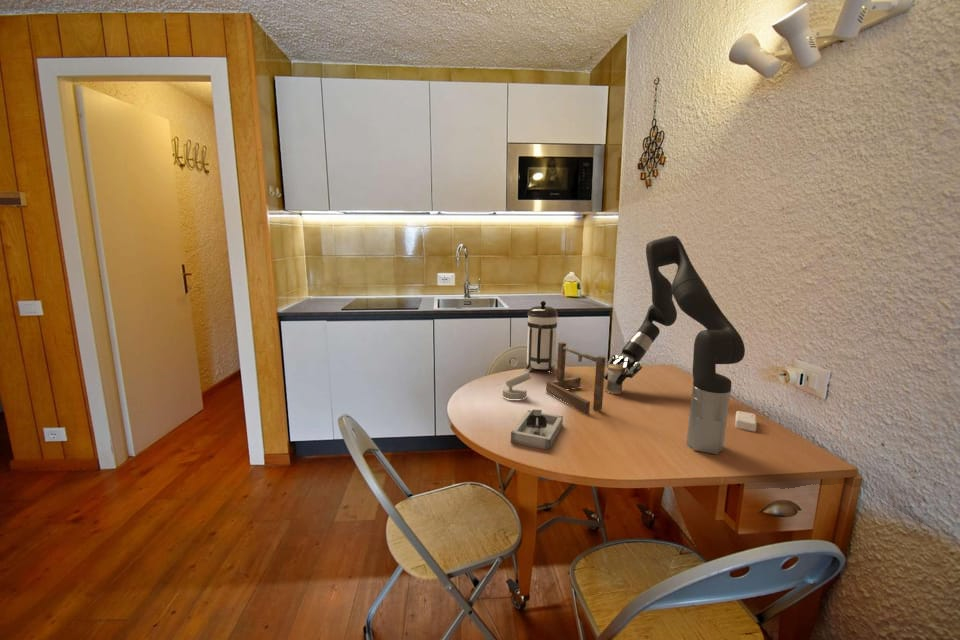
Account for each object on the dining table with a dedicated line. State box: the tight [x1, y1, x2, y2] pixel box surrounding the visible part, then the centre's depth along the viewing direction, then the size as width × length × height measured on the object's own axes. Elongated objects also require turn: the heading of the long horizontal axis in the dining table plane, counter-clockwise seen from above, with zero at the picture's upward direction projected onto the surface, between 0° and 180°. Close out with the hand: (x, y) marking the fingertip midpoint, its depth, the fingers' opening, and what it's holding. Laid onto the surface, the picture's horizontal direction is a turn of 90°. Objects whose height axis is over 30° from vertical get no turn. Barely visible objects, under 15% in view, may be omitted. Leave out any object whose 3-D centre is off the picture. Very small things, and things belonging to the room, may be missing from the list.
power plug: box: [527, 409, 547, 436], centre depth 130 cm, size 6×8×12 cm
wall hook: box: [502, 370, 532, 399], centre depth 157 cm, size 9×10×10 cm
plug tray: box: [510, 410, 564, 450], centre depth 129 cm, size 17×11×3 cm, turn 157°
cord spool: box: [605, 364, 624, 395], centre depth 164 cm, size 6×6×10 cm
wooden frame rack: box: [545, 341, 607, 415], centre depth 155 cm, size 15×22×18 cm, turn 27°
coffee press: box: [525, 300, 559, 374], centre depth 186 cm, size 17×16×30 cm
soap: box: [734, 410, 757, 432], centre depth 137 cm, size 9×6×3 cm, turn 149°
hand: (611, 381), depth 163 cm, fingers closed on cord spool, 5 cm apart
